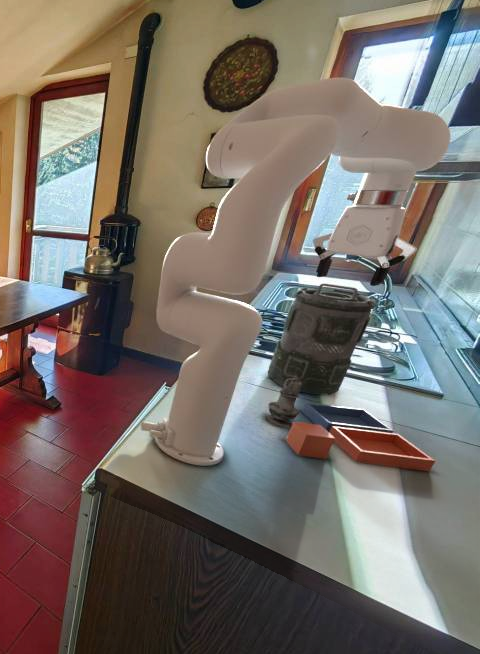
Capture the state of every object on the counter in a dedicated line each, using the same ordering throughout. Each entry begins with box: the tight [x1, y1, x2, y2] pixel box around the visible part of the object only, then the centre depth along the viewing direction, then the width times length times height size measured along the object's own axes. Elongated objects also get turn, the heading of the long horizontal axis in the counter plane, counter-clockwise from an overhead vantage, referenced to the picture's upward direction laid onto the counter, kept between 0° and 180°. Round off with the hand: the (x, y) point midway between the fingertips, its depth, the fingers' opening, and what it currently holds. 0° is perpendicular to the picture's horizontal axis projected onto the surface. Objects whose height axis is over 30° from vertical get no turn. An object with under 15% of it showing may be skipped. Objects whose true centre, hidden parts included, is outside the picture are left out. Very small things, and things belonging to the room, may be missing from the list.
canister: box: [267, 283, 377, 396], centre depth 104 cm, size 16×16×28 cm
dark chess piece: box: [264, 376, 302, 429], centre depth 89 cm, size 6×6×12 cm
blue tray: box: [301, 402, 394, 433], centre depth 89 cm, size 12×9×2 cm
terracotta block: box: [285, 421, 335, 460], centre depth 80 cm, size 5×5×5 cm
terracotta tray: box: [329, 426, 436, 472], centre depth 80 cm, size 12×9×2 cm
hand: (346, 280), depth 88 cm, fingers open, 9 cm apart
